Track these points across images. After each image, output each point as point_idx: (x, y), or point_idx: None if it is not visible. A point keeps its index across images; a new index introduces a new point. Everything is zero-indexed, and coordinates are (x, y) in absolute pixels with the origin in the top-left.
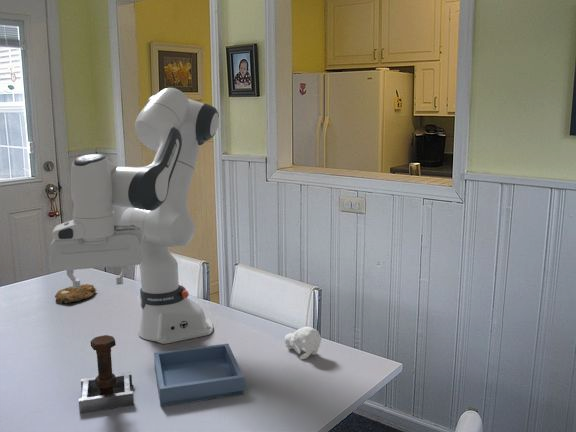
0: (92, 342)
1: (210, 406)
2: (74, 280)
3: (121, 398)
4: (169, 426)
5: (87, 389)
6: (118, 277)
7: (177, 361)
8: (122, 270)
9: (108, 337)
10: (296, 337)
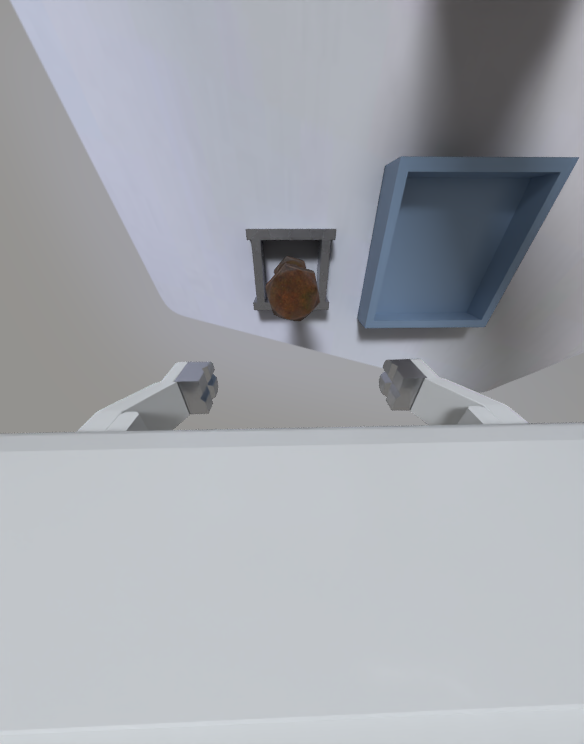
0: (271, 305)
1: (412, 333)
2: (183, 419)
3: None
4: (355, 359)
5: (262, 276)
6: (403, 408)
7: (435, 176)
8: (456, 409)
9: (306, 286)
10: None
